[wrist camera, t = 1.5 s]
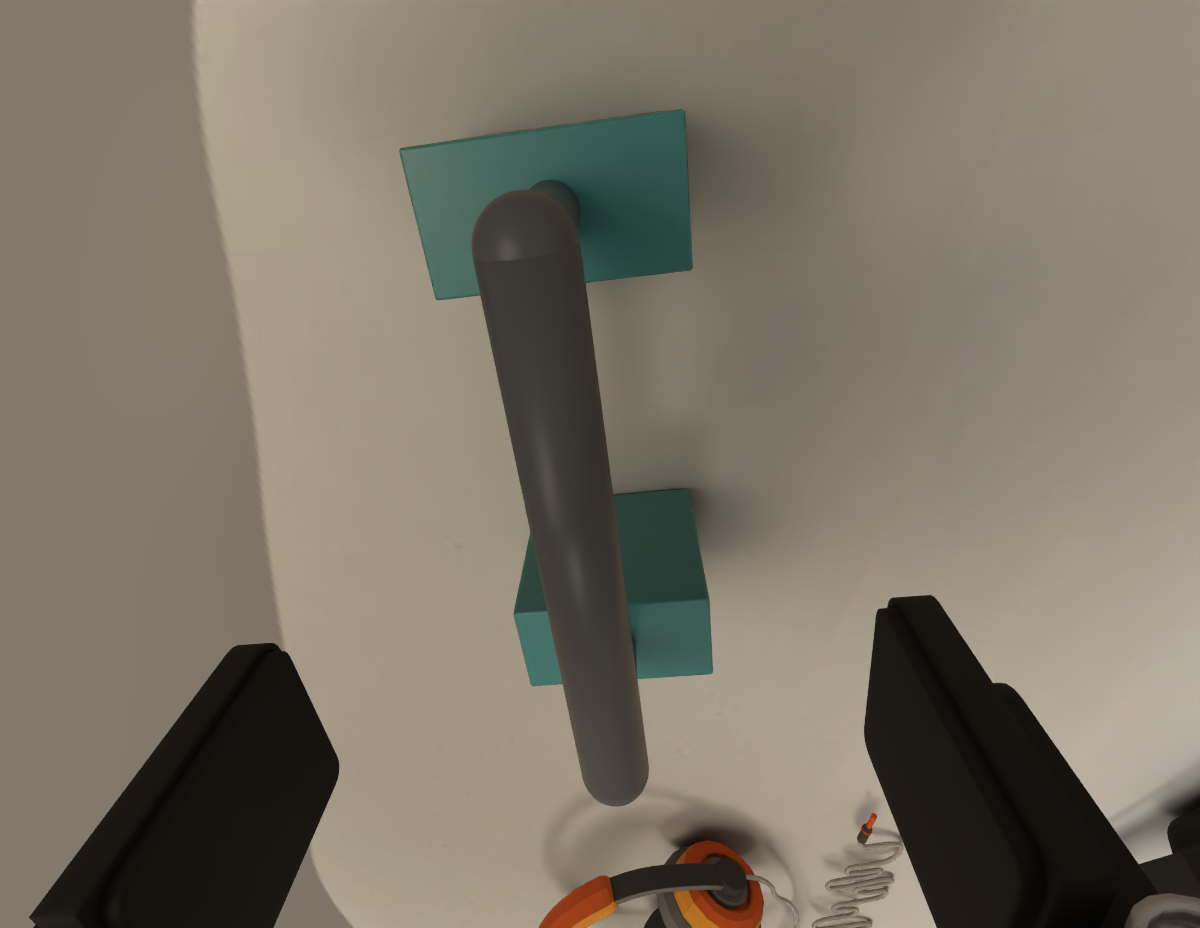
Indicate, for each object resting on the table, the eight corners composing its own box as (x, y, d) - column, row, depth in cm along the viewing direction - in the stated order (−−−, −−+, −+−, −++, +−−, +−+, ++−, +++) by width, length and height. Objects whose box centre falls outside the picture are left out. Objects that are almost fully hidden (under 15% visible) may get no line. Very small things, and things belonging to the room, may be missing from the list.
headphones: (866, 1023, 37) (526, 1103, 32) (821, 923, 42) (517, 980, 37) (984, 859, 29) (555, 933, 24) (912, 757, 34) (538, 803, 29)
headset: (463, 139, 18) (284, 166, 8) (664, 110, 17) (722, 105, 8) (548, 565, 25) (507, 844, 15) (692, 553, 24) (740, 833, 15)
